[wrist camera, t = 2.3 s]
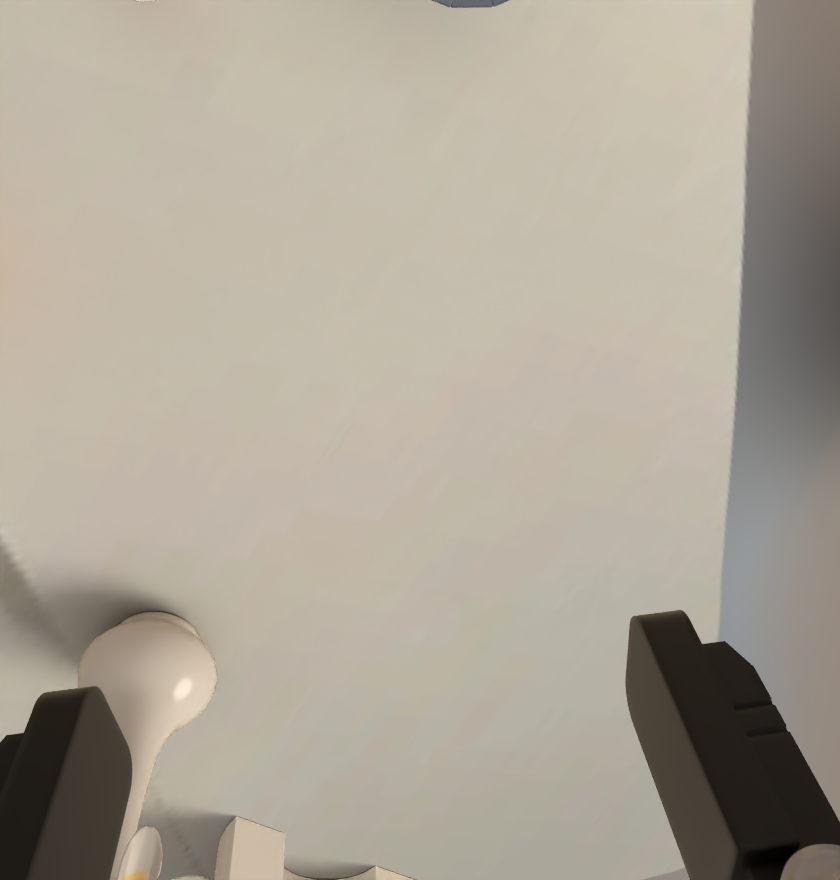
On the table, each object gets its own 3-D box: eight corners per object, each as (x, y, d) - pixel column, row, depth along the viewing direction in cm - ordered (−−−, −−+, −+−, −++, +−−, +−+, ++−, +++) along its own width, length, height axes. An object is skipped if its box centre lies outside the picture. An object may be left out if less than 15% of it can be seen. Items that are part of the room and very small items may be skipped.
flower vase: (-1, 575, 54) (-215, 992, 33) (276, 580, 56) (240, 972, 35) (30, 702, 61) (-130, 1111, 40) (275, 701, 63) (244, 1088, 42)
